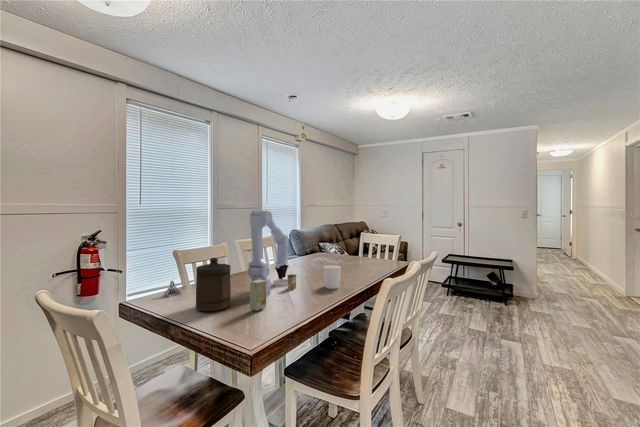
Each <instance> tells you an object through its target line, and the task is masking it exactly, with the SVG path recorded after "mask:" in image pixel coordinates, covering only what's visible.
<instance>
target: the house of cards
mask: <svg viewBox="0 0 640 427" xmlns="http://www.w3.org/2000/svg"><path fill="white" fill-rule="evenodd" d="M169 285H170V286H169V287H167V288H166V290H165V292H164V293H163V297H165V298H167V299H168V298H172V297H175V296H178V295H182V294H181V293H182V292H181V291H180V290H179V289H178V288H177V286H175V282H174V280H170V283H169Z"/></svg>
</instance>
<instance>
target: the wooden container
mask: <svg viewBox="0 0 640 427" xmlns="http://www.w3.org/2000/svg"><path fill="white" fill-rule="evenodd" d="M218 261H219V259H218V258H216V257H211V258H210V259H209V262H210V263H209V264H202V265H199V266H196V285H195V308H196V309H197V310H198V311H203V312H215V311H221V310H224V309H226V308H228V307H230V306H231V265H230V264H227V263H219V262H218Z"/></svg>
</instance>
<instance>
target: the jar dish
mask: <svg viewBox="0 0 640 427" xmlns="http://www.w3.org/2000/svg"><path fill="white" fill-rule="evenodd" d="M272 282H273V285H274V286H275V287H288V278H283V279H279V278H277V279H275V280H273V281H272Z"/></svg>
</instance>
